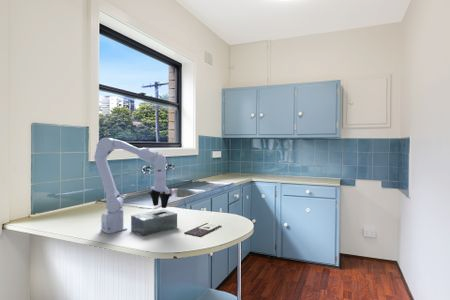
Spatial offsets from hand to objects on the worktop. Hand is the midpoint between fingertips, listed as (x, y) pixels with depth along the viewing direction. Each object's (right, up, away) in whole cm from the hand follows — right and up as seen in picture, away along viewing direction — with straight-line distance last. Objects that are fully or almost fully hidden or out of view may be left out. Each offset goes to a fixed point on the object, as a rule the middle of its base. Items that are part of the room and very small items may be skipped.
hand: (159, 206), depth 138 cm
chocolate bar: (+22, -11, -3) cm, 25 cm away
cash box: (-2, -10, -2) cm, 11 cm away
